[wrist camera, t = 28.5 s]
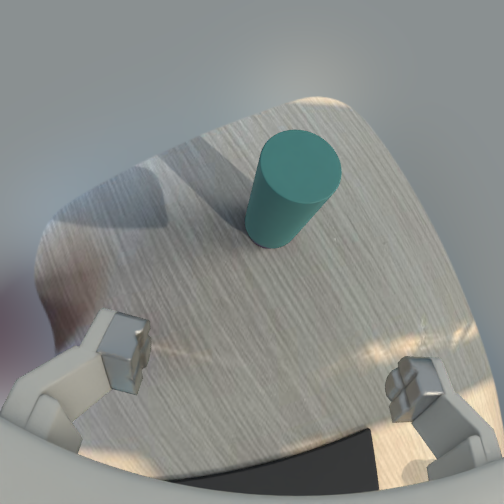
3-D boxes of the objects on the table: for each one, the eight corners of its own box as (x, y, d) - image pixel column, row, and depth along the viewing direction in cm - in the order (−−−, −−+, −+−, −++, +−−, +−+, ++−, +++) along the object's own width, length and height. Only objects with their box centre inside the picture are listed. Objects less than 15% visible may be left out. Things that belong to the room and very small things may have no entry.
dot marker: (250, 258, 22) (272, 211, 12) (237, 210, 23) (250, 135, 13) (298, 246, 22) (353, 195, 13) (285, 200, 23) (326, 125, 13)
